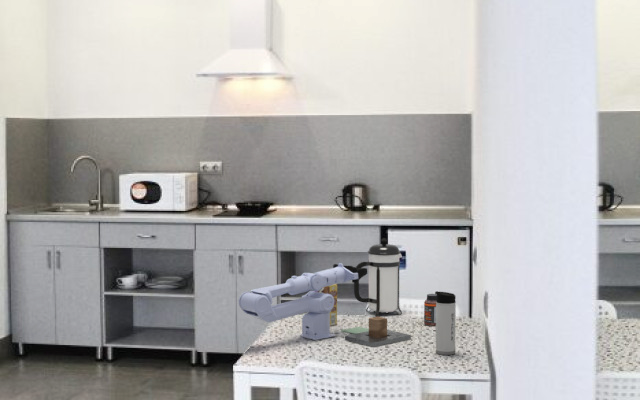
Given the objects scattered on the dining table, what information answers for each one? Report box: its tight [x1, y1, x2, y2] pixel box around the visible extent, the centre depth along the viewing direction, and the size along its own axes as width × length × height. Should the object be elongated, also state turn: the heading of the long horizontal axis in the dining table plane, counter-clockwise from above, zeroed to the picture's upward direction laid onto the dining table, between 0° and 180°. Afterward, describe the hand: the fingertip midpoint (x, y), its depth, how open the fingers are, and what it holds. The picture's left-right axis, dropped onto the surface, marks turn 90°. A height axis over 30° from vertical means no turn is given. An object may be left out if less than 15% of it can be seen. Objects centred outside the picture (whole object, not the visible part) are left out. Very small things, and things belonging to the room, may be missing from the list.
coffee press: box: [353, 237, 403, 317], centre depth 357 cm, size 17×16×30 cm
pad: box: [340, 326, 369, 335], centre depth 326 cm, size 9×9×1 cm
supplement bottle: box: [423, 293, 437, 327], centre depth 338 cm, size 6×6×11 cm
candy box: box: [315, 284, 338, 327], centre depth 339 cm, size 9×4×15 cm, turn 39°
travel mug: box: [434, 291, 457, 356], centre depth 293 cm, size 6×7×20 cm
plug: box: [368, 316, 388, 338], centre depth 312 cm, size 4×4×8 cm
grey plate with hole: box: [344, 329, 412, 348], centre depth 313 cm, size 18×14×2 cm
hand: (359, 269), depth 329 cm, fingers open, 7 cm apart
